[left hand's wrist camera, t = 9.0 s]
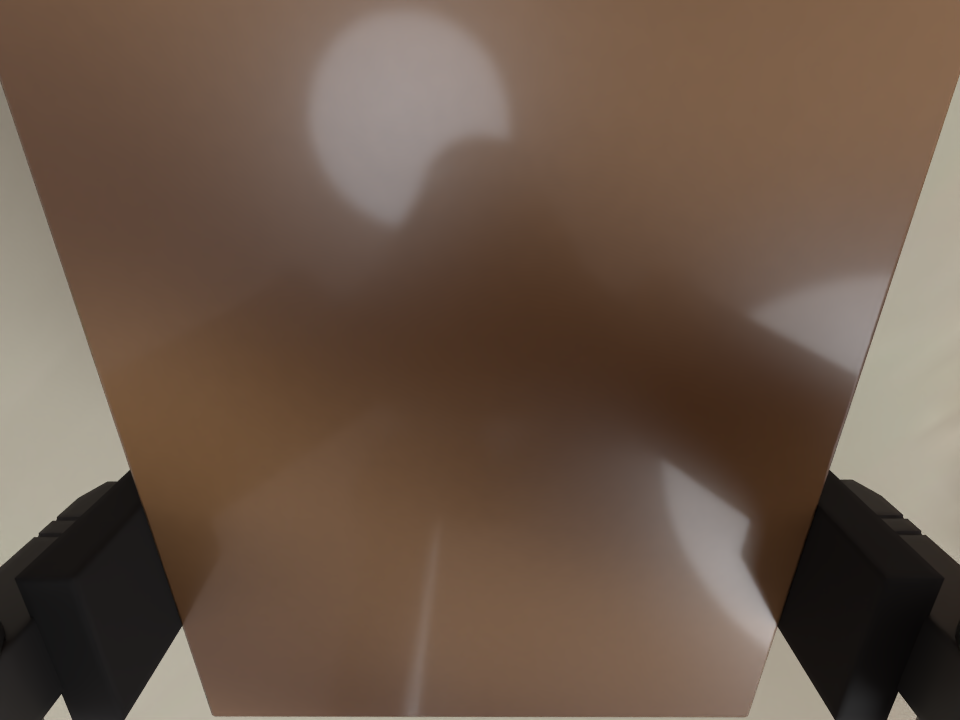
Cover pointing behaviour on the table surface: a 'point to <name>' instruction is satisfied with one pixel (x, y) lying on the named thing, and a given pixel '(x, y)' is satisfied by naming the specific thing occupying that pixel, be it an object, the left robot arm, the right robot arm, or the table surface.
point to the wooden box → (479, 322)
